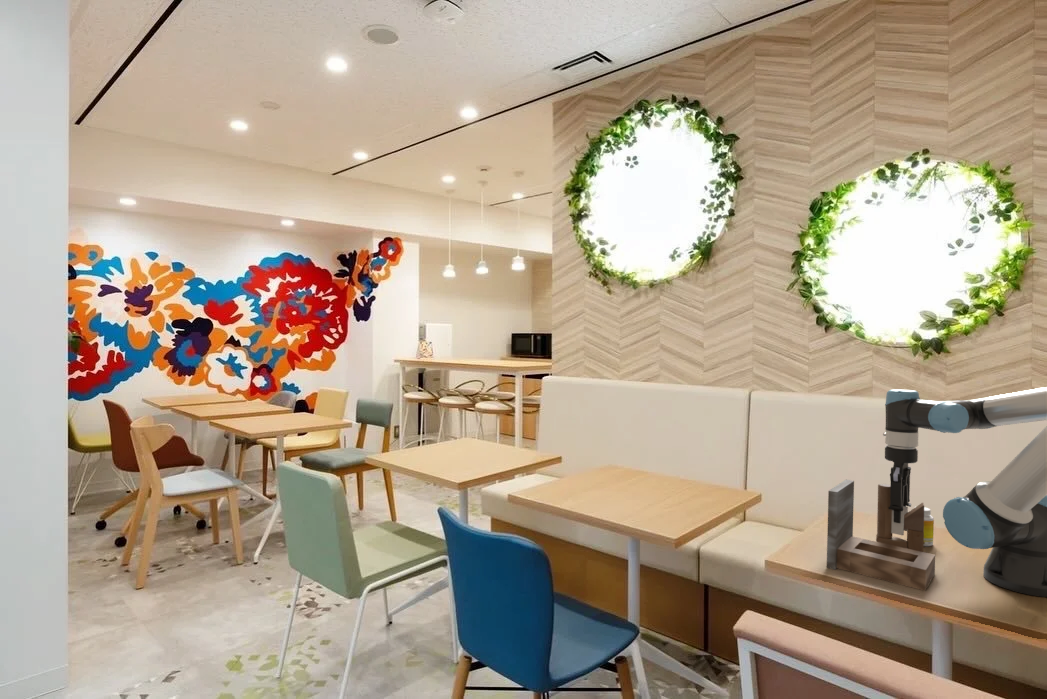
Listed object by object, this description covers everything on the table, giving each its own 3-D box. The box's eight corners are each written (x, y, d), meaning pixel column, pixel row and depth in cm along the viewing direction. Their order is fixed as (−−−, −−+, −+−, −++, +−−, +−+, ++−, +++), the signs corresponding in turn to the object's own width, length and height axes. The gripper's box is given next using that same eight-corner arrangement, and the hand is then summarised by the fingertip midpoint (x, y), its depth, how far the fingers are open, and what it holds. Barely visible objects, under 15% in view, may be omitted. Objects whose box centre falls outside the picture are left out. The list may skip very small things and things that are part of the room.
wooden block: (923, 558, 155) (924, 491, 154) (876, 550, 160) (877, 485, 160) (922, 554, 158) (923, 488, 157) (876, 546, 163) (877, 482, 163)
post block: (935, 572, 148) (938, 494, 147) (924, 592, 136) (926, 508, 135) (844, 550, 162) (846, 479, 162) (826, 567, 151) (828, 490, 150)
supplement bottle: (938, 546, 166) (939, 510, 166) (921, 547, 165) (922, 511, 165) (920, 539, 172) (921, 505, 171) (905, 540, 170) (906, 506, 170)
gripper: (892, 440, 167) (890, 521, 168) (877, 449, 155) (876, 536, 155) (923, 444, 162) (921, 527, 163) (911, 453, 150) (909, 543, 150)
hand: (899, 531), depth 159 cm, fingers closed on wooden block, 4 cm apart
